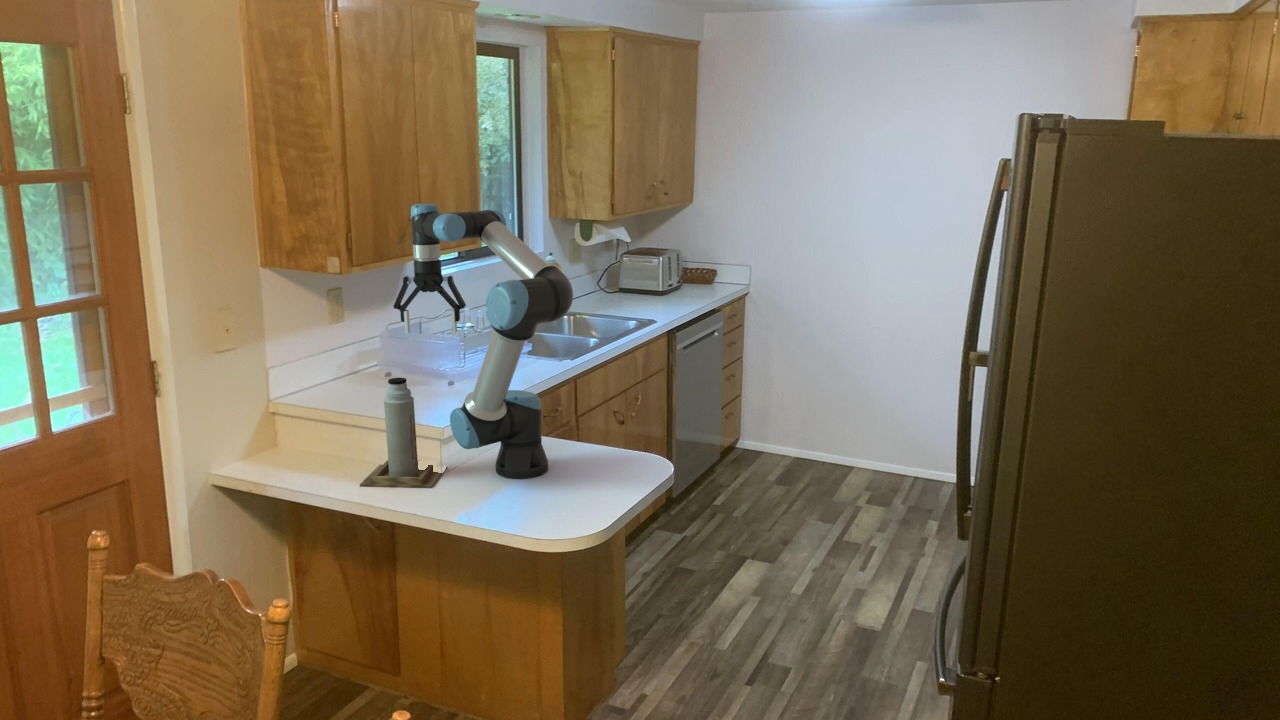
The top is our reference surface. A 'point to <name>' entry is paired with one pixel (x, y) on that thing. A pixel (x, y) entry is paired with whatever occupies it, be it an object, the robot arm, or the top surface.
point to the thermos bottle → (400, 429)
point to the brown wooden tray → (401, 478)
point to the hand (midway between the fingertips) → (431, 332)
